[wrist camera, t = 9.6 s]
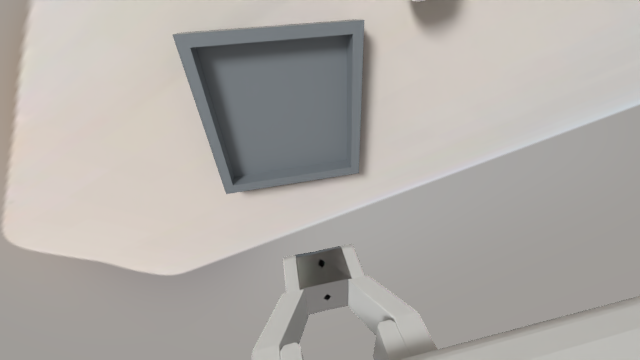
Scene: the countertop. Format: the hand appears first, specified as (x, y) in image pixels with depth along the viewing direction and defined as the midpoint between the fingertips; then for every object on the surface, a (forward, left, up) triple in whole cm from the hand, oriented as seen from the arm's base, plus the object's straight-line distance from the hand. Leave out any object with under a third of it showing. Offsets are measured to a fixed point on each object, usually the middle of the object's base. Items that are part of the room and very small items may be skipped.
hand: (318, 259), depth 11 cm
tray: (0, 0, -20) cm, 20 cm away
